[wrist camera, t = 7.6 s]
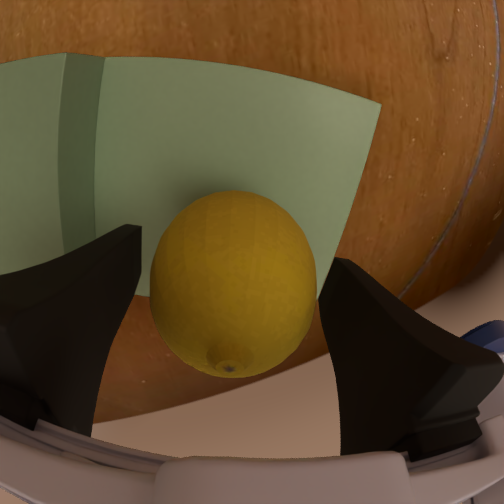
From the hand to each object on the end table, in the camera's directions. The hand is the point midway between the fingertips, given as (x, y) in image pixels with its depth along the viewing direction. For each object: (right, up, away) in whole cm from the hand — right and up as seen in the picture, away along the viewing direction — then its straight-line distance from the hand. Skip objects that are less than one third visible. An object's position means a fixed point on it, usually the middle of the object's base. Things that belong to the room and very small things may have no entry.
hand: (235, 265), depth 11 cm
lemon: (0, +2, +3) cm, 3 cm away
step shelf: (-15, +5, +1) cm, 16 cm away
